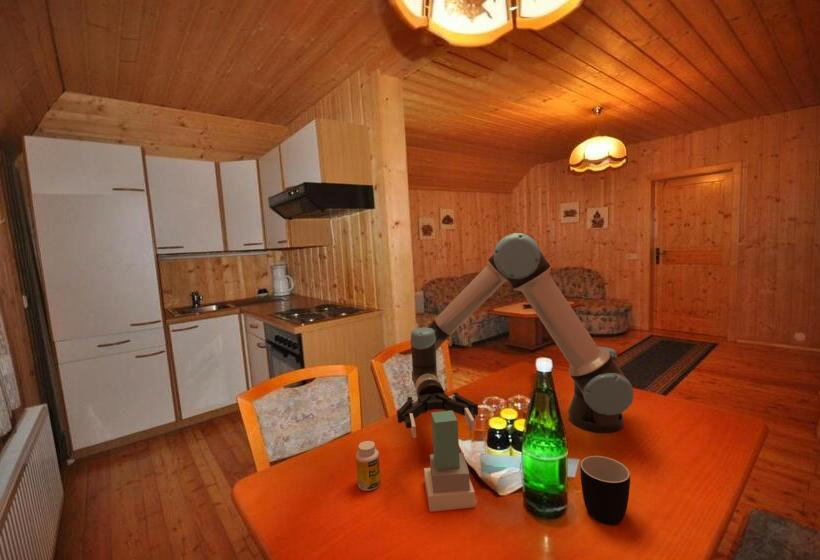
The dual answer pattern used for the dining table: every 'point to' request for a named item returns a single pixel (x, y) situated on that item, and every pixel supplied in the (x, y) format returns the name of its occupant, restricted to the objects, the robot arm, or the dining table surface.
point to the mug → (605, 489)
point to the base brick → (447, 496)
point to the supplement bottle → (368, 466)
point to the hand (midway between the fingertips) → (444, 429)
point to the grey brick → (450, 477)
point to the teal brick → (445, 440)
